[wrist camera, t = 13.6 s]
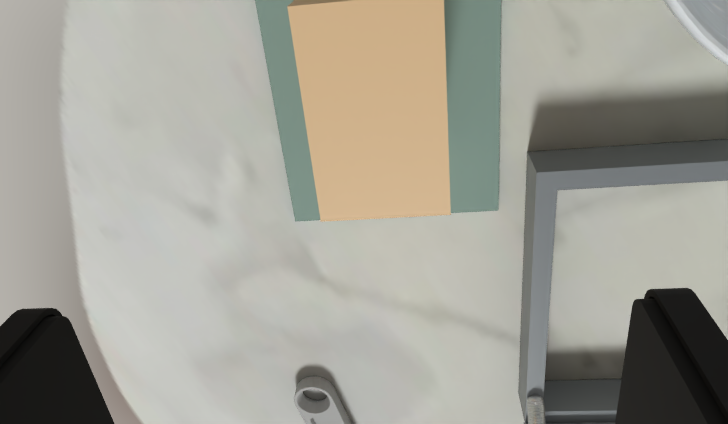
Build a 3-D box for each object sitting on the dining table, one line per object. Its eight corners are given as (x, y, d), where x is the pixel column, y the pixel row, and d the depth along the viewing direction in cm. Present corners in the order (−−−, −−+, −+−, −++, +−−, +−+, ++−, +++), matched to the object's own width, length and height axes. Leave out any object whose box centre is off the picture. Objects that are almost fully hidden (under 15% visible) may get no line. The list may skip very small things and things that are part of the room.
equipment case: (912, 127, 28) (1190, 256, 18) (776, 493, 41) (893, 685, 31) (527, 152, 30) (585, 281, 20) (514, 493, 43) (546, 674, 33)
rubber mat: (500, -170, 23) (502, -171, 23) (496, 205, 31) (498, 210, 31) (234, -137, 24) (230, -137, 24) (297, 216, 32) (295, 221, 32)
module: (434, -36, 25) (443, -8, 18) (440, 136, 29) (450, 214, 22) (320, -25, 26) (287, 6, 19) (342, 143, 29) (320, 221, 22)
